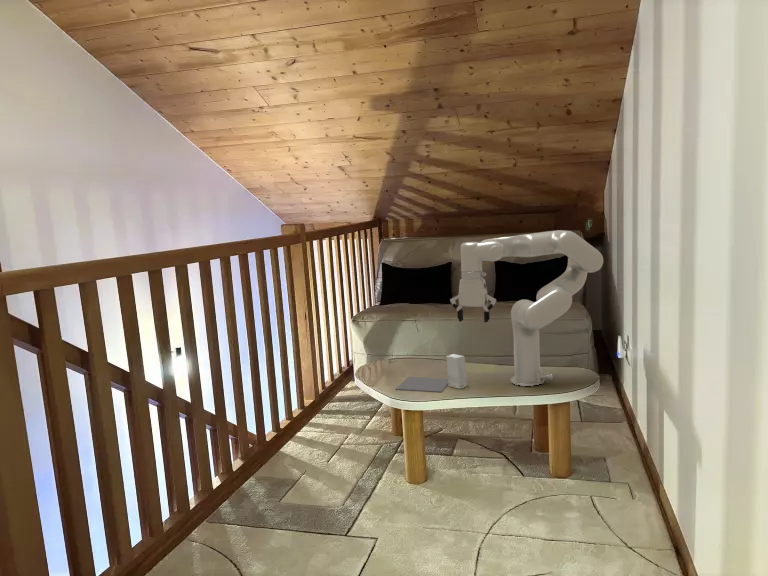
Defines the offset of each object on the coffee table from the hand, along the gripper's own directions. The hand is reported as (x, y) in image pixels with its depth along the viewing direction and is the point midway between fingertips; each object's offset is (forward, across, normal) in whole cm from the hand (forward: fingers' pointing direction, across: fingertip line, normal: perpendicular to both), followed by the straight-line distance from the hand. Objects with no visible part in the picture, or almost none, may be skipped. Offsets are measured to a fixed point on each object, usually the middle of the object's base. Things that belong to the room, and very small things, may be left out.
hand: (473, 321), depth 215 cm
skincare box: (+25, +7, +1) cm, 26 cm away
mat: (+25, +20, +2) cm, 32 cm away
